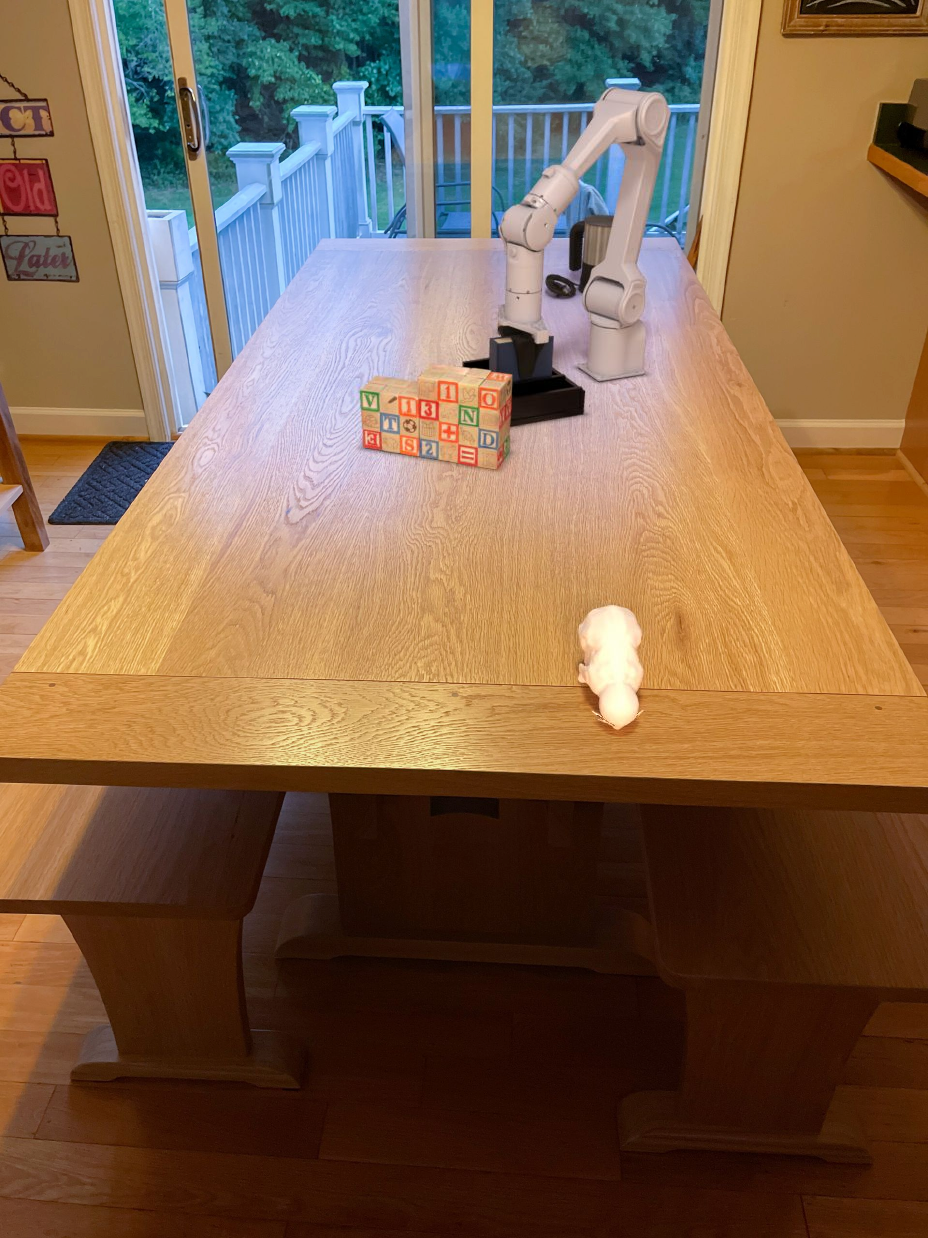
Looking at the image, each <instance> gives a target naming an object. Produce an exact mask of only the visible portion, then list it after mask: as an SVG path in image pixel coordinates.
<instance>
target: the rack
mask: <svg viewBox="0 0 928 1238" xmlns="http://www.w3.org/2000/svg"><path fill="white" fill-rule="evenodd" d="M461 362H462V363H461V365H462V366H461V367H464V368H476V369H484V370H489V357H485V358H484V357H483V358H477V359H470V360H464V361H461ZM511 402H512V404H511V420H510V428H511V427H518V426H524V425H530V424H535V423H541V422H547V421H552V420H553V421H554V420H558V419H565V418H570V417H577V416H582V415H584V413H585V402H586V390H585V389H584V387H582V386H581V385H579V384H577V383H575V382H574V381H573V380H572V379H570V378H568V377H567V375H566V374H564V373H562V372H560V371H559V370H558V369H556V368H555V367H554V366H552V376H547V377H540V378H534V379H527V380H521V381H514V382H512V401H511Z"/></svg>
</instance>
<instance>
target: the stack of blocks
mask: <svg viewBox="0 0 928 1238" xmlns="http://www.w3.org/2000/svg"><path fill="white" fill-rule="evenodd" d="M511 401H512V375H511V374H504V373H497V372H491V370H484V369H476V368H464V367H462V366H455V365H446V364H440V363H439V364H438V363H431V364H430V365H428V367H427V368H426V369H425V370H424V371H423V372H422V373H421V374H420V375H419V376H418V377H417V381H415V380H412V379H404V378H397V377H395V378H394V377H388V376H381V375H375V376H373V377H372V378H371V379H370V380H369V381H368V382H367V383H366V384H365V385H363V386H362V387H361V388H360V390H359V407H360V415H361V418H360V419H361V428H362V446H363V447H362V448H367V449H372V450H379V451H383V452H388V453H396V454H401V455H406V456H407V455H408V456H413V457H420V458H426V459H432V460H440V461H445V462H451V463H458V464H461V465H467V466H472V467H479V468H482V469H483V468H484V469H489V470H498V469H499V467H501V465H502V463H503V462H504V460H505V459H506V457H507V456H508V455H509V453H510V441H511V440H510V438H511V435H510V433H511V427H510V420H511V404H512V402H511Z"/></svg>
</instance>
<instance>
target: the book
mask: <svg viewBox="0 0 928 1238" xmlns="http://www.w3.org/2000/svg"><path fill="white" fill-rule="evenodd" d="M517 335H519V334H517ZM522 335H523V334H522ZM511 336H512V335H510V336H502V337H501V336H496V337H490V338H489V342H488V343H489V344H488V345H489V347H488V348H489V349H488V352H489V353H488V358H489V370H491V372H497V373H504V374H511V375H512V382H514V381H521V380H527V379H534V378H540V377H547V376H552V367H553V359H554V342H555V335H550V334H549V340H548V342H547V343H545V345H544V346H543V348H542V350H541V352H540V354H539V356H538V359H537V362H536V365H535V368H534V372H533V375H532V377H528V378H520V377H519V375H518V368H517V356H516V351H515V347H514V344H513V342H512V339H511Z"/></svg>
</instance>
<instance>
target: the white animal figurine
mask: <svg viewBox="0 0 928 1238" xmlns="http://www.w3.org/2000/svg"><path fill="white" fill-rule="evenodd" d="M577 634H578V637H579V640H578V641H579V645H580V647H581V649H582V651H584V660H583V663H579V664H578V672H579V673H578V676H577V680H578V682H579V683H580V684H586V685H588V687H589V688H590V690H591V691H592V692H593V694H595V695H597V697H598V698H599V700H598V708H599V712H600V713H597V712H595V711H594V710H591V712H592V713H593V714H594V715H596V716H597V715H599V716H600V717H602V716H603V718H604V719H605V720H607V721H608V722H609V723H608V722H606V721H605V720H602V719H601V718H597V720H598V721H600V722H602V723H605V724H608V725H609V726H611V727H612V728H613V729H614V730H620V729H622V728H623V727H625V726H627V725H629V724H630V723H631V722H633V721H634V720H635V719H636V718H637V717H638V716H639V715H641V714H642V713H643V710H640V712H639V708H640V704H639V698H638V695H637V692H638V690H639V689H640V686H641V684H642V682H643V678H644V673H645V671H644V668H643V666H642V664H641V662H640V658H639V654H638V648H639V646H640V645H641V643H642V637H643V630H642V628H641V626H640V625H639V624H638V620H637V618H636V615H635V614H634V612H633V611H632V610H630V609H629V608H627V607H624V606H623V607H622V606H619V605H615V604H607V605H605V606H600V607H596V608H594V609H592V610H591V611H589V612H588V613H587V614H586V616H585V618H584V619H583V622H581V623H580V624H579V625H578V630H577ZM584 663H585V665H586V666H584ZM638 712H639V713H638ZM637 713H638V714H637ZM601 715H602V716H601ZM637 715H638V716H637ZM636 716H637V717H636ZM610 723H612V724H614V725H615V726H613V725H612V724H610Z"/></svg>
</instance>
